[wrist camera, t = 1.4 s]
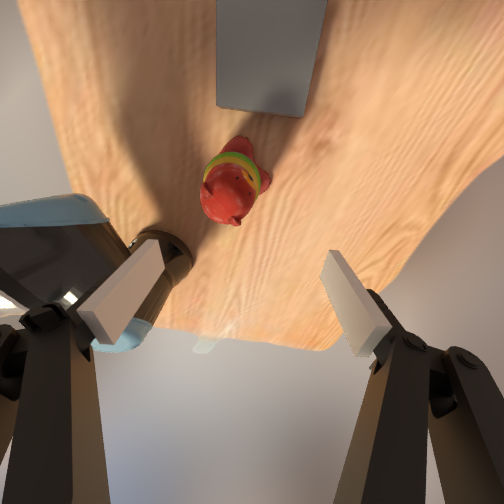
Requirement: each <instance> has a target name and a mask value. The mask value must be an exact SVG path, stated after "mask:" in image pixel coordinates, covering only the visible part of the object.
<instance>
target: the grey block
mask: <svg viewBox="0 0 504 504" xmlns="http://www.w3.org/2000/svg"><path fill="white" fill-rule="evenodd" d="M327 2H328V0H216V105H217V106H218V107H220V108H223V109H231V110H239V111H246V112H254V113H261V114H269V115H277V116H284V117H292V118H301V117H303V116H304V111H305V106H306V101H307V97H308V92H309V87H310V82H311V78H312V73H313V68H314V63H315V59H316V54H317V49H318V44H319V40H320V35H321V30H322V25H323V21H324V16H325V11H326V6H327Z"/></svg>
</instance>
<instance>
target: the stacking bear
mask: <svg viewBox="0 0 504 504" xmlns="http://www.w3.org/2000/svg"><path fill="white" fill-rule="evenodd" d="M270 181H271V180H270V178H269V175H268V173H267V172H266V171H264V170H262V169H261V168H259V167H258V166H257V164H256V163H255V161H254V158H253V147H252V144H251V143H250V142H249V140H248V138H246V137H244V138H243V137H242V136H237V137H235V138H234V139H232V140H231V141H230V142H228V143H227V144H226V145H225V147H224V148H223V149H222V150H221V152H220V153H219V155H217V156H216V157H214V158H213V159H212V160H211V161H210V163H209V164H208V166H207V168H206V170H205V173H204V177H203V183H202V184H201V191H200V201H201V205H202V208H203V210H204V212H205V214H206V215H207V216H208V217H209V218H210V219H211V220H213V221H215V222H217V223H220V224H231V225H233V226H240V225H241V219H242V218H244V217H245V216H246V215H247V214H248V213H249V211H250V210H251V208H252V206H253V204H254V202H255V201H256V199H257V197H258V195H260V194H262V193H263V192H265V191H266V190H267V189H268V188H269V183H270Z"/></svg>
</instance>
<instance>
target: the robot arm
mask: <svg viewBox="0 0 504 504" xmlns="http://www.w3.org/2000/svg"><path fill="white" fill-rule="evenodd" d="M109 221H110V219H109V218H107V217H106V216H105V215H104V214H103V212H102V211H101V210H100V208H99V207H98V206H97V204H96V203H95V202H94V201H93V200H92V199H91V198H90V197H88V196H86V195H83V194H79V193H72V194H65V195H58V196H52V197H46V198H40V199H33V200H27V201H21V202H16V203H10V204H5V205H0V319H1V318H2V317H4V316H9V315H22V316H21V318H20V320H19V322H20V323H21V324H22V325H23V326H24V327H25V328H26V329H20V330H15V329H14V328H12V326H11V325H6V324H3V325H0V465H1V462H2V460H3V458H4V455H5V453H6V451H7V448H8V446H9V443H10V441H11V439H12V437H13V439H12V445H11V452H10V458H9V463H8V469H7V475H6V481H5V487H4V493H3V499H2V504H111V503H110V496H109V486H108V478H107V469H106V460H105V451H104V443H103V435H102V425H101V417H100V407H99V399H98V390H97V382H96V372H95V364H94V356H93V350H96V351H102V352H125V351H129V350H132V349H134V348H136V347H137V346H139V345H140V344H141V343H142V341H143V340H144V338H145V337H146V335H147V333H148V332H149V331H150V330H151V329H152V326H153V324H154V322H155V320H156V319H157V317H158V315H159V313H160V311H161V309H162V307H163V305H164V303H165V301H166V299H167V298H168V296H169V294H170V292H171V290H172V289H173V288H174V287H175V286H176V285H177V284H179V283H180V282H181V281H182V280H184V279H185V278H186V277H187V275H188V274H189V272H190V270H191V267H192V262H193V261H192V256H191V253H190V251H189V249H188V248H187V246H186V245H185V244H184V243H183V242H182V241H181V240H179V239H178V238H176V237H175V236H173V235H171V234H168V233H166V232H162V231H147V232H144V233H142V234H140V235H138V236H137V237H136V238H135V239H134V240H133V241H132V242H131V243H130V245H129V247H128V248H127V247H126V245H125V244H124V242H123V241H122V239H121V238H120V236H119V235H118V233H117V232H116V231H115V229H114V228H113V226H112V225H111V223H110V222H109ZM320 279H321V281H322V284H323V286H324V288H325V290H326V293H327V295H328V297H329V299H330V302H331V304H332V306H333V308H334V311H335V313H336V315H337V318H338V320H339V322H340V324H341V327H342V329H343V331H344V333H345V336H346V338H347V340H348V342H349V345H350V347H351V349H352V351H353V354H354V356H355V357H369V356H370V355H371V353H372V352H374V354H375V355H376V357H377V358H376V360H375V361H374V362H373V363H372V364H371V366H370V367H369V369H370V370H371V369H372V371H371V375H370V378H369V381H368V385H367V388H366V392H365V395H364V399H363V402H362V405H361V409H360V412H359V416H358V419H357V423H356V426H355V430H354V433H353V437H352V440H351V443H350V447H349V450H348V454H347V457H346V461H345V464H344V467H343V471H342V474H341V478H340V481H339V485H338V488H337V492H336V495H335V499H334V502H333V504H425V496H426V465H427V435H428V434H427V433H428V429H429V433H430V437H431V442H432V447H433V451H434V455H435V460H436V464H437V469H438V473H439V478H440V482H441V487H442V491H443V495H444V500H445V504H504V398H503V396H502V394H501V392H500V391H499V388H498V387H497V385H496V383H495V381H494V379H493V378H492V376H491V374H490V372H489V370H488V368H487V367H486V366H485V364H484V363H483V362H482V361H481V360H480V359H479V358H478V357H477V356H475V355H474V354H472V353H471V352H469V351H467V350H465V349H463V348H460V347H456V346H453V347H450V348H449V349H448V350H446V351H443V350H440V349H437V348H434V347H431V346H428V345H427V344H426V343H425V342H424V341H423V340H422V339H421V338H420V337H418V336H416V335H415V334H413V333H410V332H407V331H406V330H405V329H404V328H403V327H402V325H401V324H400V323H399V321H398V320H397V319H396V317H395V316H394V315H393V313H392V312H391V311H390V310H389V309H388V307H387V305H386V304H384V301H383V300H382V299H381V297H380V296H379V295H378V294H377V293H375V292H374V291H373V290H372V289H365V287H364V286H363V284H362V283H361V282H360V280H359V279H358V277H357V276H356V274H355V273H354V272H353V270H352V269H351V267H350V266H349V264H348V263H347V262H346V260H345V259H344V257H343V256H342V254H341V253H340V252H339V251H337V250H329V251H328V254H327V257H326V260H325V263H324V266H323V269H322V272H321V275H320Z"/></svg>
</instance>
